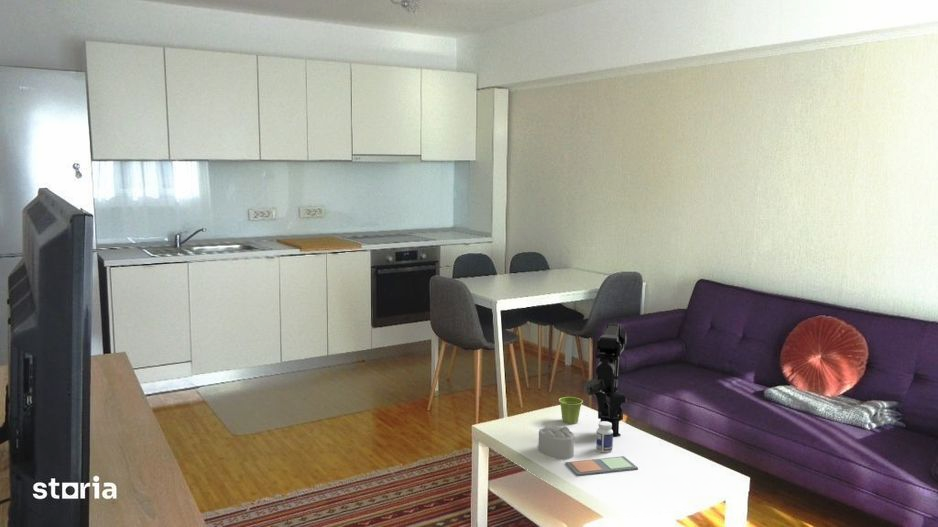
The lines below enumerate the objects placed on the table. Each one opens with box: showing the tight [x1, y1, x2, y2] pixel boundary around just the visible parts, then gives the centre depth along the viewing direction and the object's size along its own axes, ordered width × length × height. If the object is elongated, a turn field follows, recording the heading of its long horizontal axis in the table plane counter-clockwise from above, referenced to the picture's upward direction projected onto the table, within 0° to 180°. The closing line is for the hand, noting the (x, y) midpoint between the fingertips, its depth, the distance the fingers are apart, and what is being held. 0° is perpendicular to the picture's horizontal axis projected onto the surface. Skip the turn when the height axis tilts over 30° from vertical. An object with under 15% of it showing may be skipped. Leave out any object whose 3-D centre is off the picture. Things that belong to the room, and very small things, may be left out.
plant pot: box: [558, 396, 584, 425], centre depth 282 cm, size 9×9×9 cm
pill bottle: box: [595, 421, 614, 454], centre depth 254 cm, size 6×6×10 cm
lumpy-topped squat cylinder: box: [537, 424, 575, 460], centre depth 251 cm, size 10×13×9 cm
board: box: [564, 455, 639, 477], centre depth 240 cm, size 22×10×1 cm, turn 106°
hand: (605, 414), depth 253 cm, fingers open, 8 cm apart
